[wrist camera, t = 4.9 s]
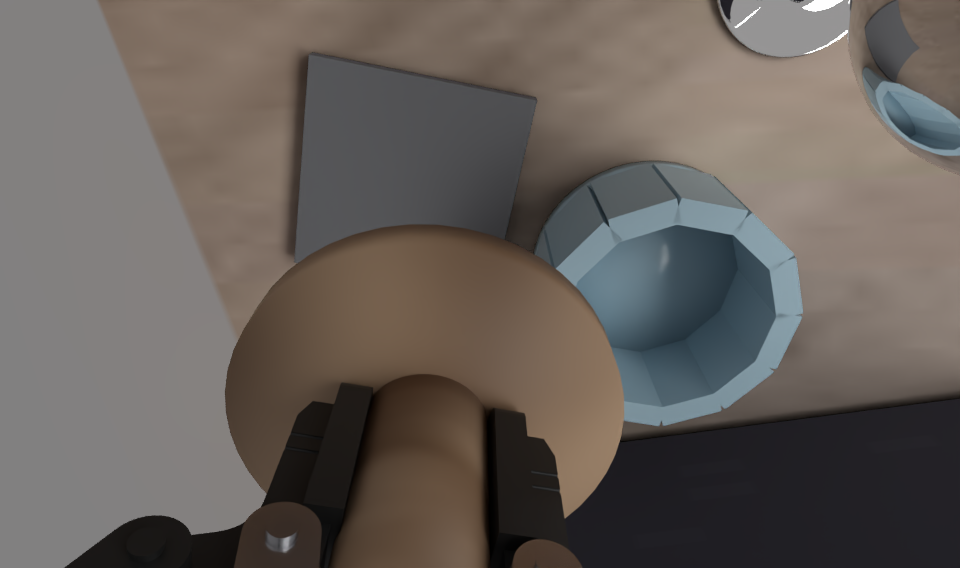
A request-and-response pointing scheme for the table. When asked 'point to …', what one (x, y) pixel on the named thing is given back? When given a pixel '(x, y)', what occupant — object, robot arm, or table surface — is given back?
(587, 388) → the lid
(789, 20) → the wineglass
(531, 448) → the robot arm
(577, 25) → the table surface
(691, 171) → the bowl
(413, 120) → the mat
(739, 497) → the radio
